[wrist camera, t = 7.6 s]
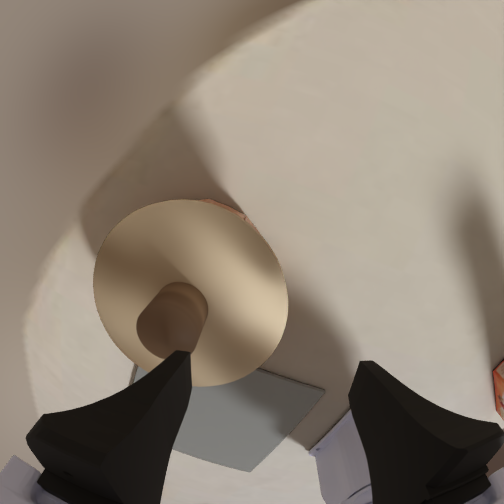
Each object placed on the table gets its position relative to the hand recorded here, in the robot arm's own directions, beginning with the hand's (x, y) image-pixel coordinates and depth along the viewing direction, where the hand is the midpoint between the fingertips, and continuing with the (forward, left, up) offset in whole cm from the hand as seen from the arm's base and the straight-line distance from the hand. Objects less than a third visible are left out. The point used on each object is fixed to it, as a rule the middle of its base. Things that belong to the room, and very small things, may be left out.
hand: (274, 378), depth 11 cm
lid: (-1, +5, -5) cm, 7 cm away
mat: (-15, -1, -10) cm, 18 cm away
